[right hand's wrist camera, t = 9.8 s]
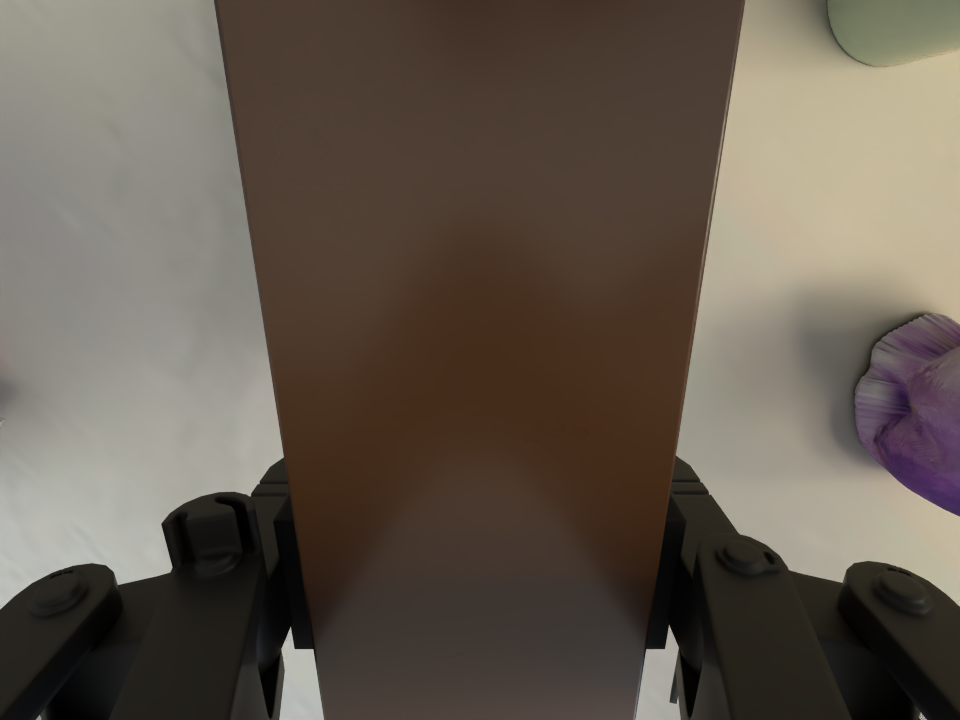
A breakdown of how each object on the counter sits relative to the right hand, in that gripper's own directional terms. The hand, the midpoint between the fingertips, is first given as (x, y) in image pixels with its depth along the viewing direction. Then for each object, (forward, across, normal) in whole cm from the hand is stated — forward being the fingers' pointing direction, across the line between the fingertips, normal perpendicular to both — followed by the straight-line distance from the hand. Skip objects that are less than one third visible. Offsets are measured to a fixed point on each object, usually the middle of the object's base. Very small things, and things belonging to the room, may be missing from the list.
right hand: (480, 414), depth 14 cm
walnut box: (+1, 0, -8) cm, 8 cm away
